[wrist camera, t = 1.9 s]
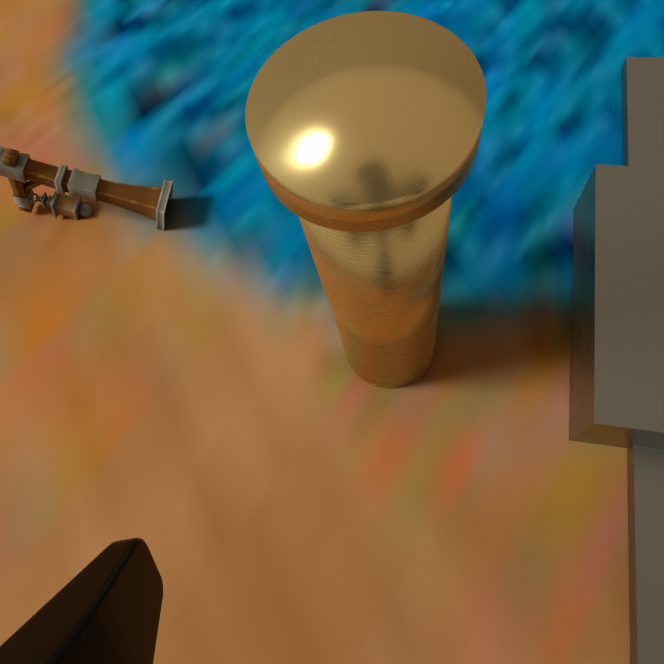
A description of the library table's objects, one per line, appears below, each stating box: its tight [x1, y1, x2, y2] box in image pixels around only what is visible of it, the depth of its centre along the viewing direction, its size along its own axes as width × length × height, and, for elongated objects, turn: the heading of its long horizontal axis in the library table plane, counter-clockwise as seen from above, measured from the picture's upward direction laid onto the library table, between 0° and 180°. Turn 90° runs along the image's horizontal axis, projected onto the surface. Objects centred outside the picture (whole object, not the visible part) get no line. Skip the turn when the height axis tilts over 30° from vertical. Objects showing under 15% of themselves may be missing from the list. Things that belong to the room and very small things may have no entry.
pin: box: [245, 11, 486, 388], centre depth 16 cm, size 4×4×14 cm
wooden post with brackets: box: [0, 146, 173, 231], centre depth 26 cm, size 2×8×4 cm, turn 83°
